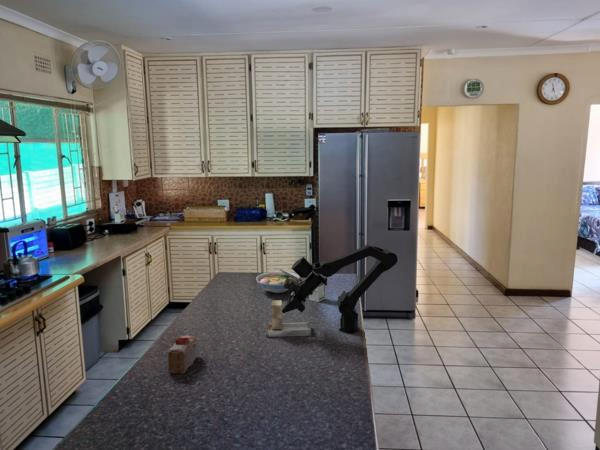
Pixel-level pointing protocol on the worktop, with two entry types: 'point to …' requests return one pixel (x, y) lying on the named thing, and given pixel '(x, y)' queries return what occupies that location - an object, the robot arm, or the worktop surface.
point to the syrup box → (318, 293)
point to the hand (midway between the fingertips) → (282, 312)
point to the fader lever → (277, 315)
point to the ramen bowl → (276, 280)
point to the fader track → (289, 329)
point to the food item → (182, 354)
